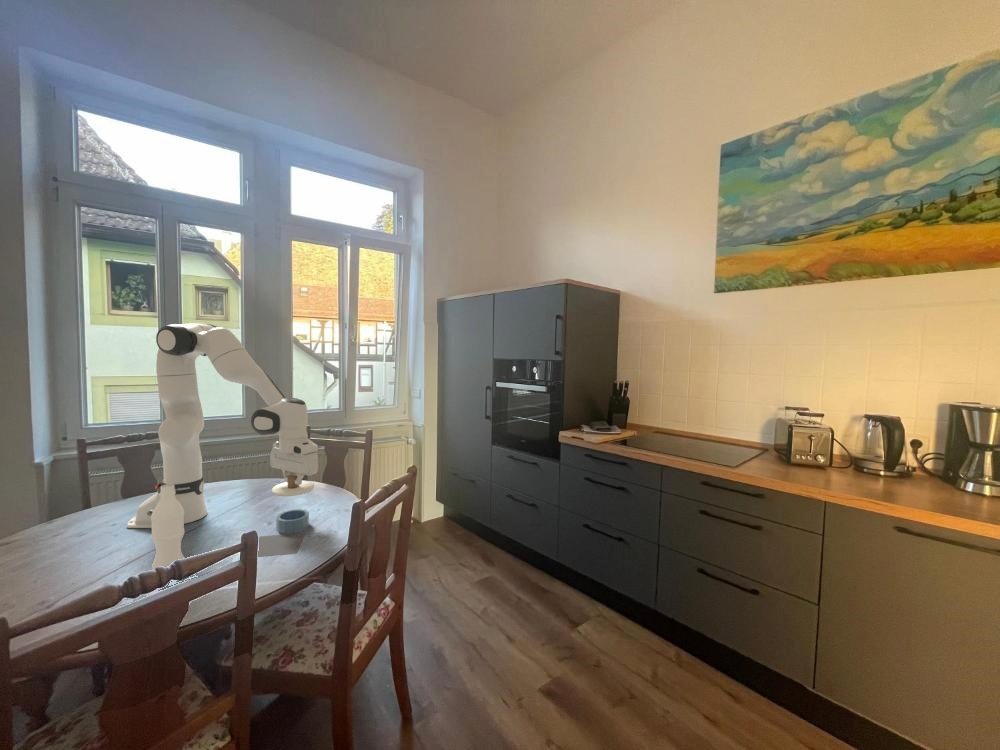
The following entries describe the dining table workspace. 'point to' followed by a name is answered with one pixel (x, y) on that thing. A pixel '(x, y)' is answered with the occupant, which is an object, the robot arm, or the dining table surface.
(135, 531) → the dining table surface
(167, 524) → the water bottle
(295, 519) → the bowl
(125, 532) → the dining table surface
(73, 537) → the dining table surface
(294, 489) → the lid
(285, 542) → the mat
